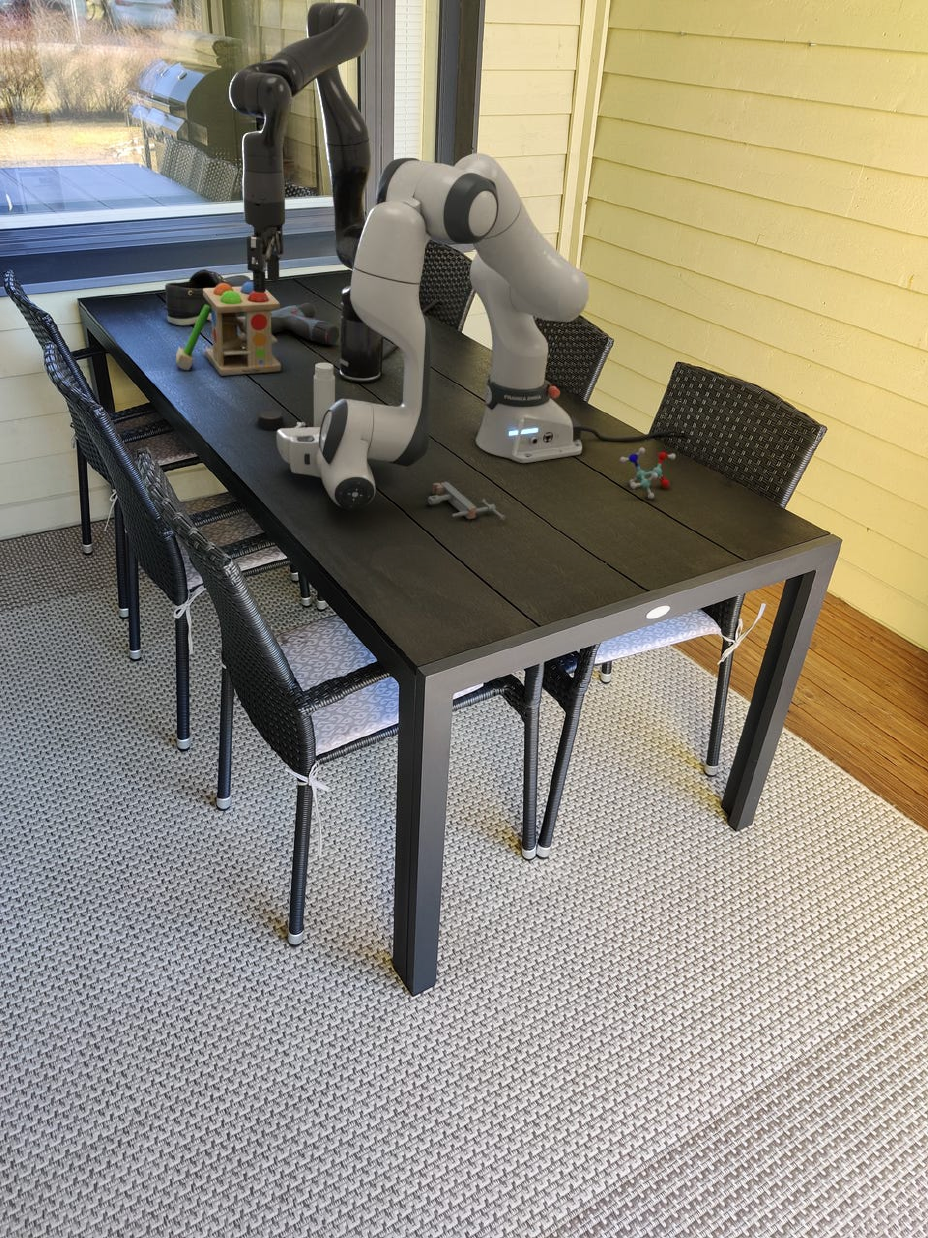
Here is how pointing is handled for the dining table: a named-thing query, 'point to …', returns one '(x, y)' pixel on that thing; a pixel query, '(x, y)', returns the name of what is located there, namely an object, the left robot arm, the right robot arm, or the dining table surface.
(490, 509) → the clamp
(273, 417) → the lid
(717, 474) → the dining table surface
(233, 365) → the pounding bench toy
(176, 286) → the boat shoe
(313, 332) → the power drill
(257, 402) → the dining table surface
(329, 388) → the jar
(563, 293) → the right robot arm
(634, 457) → the molecular model
